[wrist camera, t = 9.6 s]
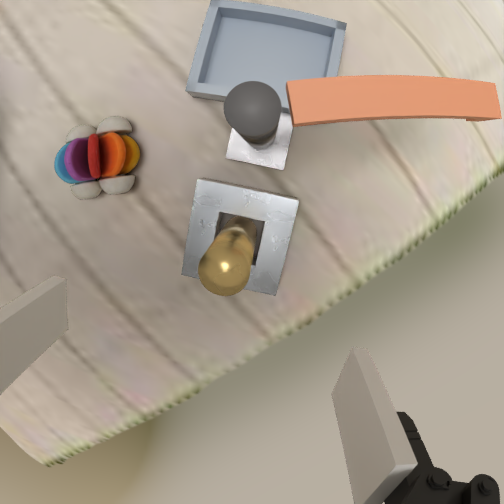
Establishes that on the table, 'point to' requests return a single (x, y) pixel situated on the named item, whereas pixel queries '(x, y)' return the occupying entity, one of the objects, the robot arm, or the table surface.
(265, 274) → the hitch block
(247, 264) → the pin
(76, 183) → the rainbow disc toy
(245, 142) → the gate post
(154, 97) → the table surface
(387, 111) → the swing bar
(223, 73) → the tray
